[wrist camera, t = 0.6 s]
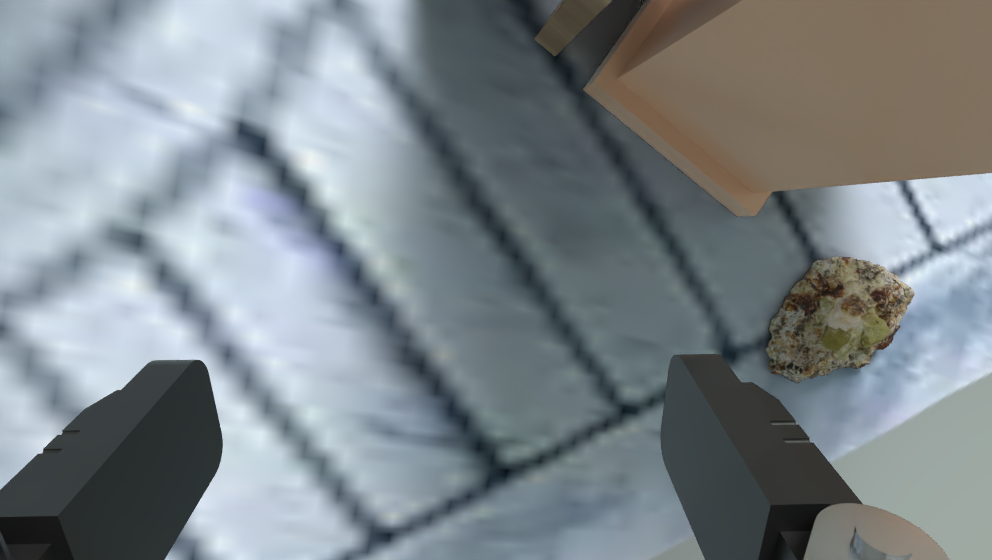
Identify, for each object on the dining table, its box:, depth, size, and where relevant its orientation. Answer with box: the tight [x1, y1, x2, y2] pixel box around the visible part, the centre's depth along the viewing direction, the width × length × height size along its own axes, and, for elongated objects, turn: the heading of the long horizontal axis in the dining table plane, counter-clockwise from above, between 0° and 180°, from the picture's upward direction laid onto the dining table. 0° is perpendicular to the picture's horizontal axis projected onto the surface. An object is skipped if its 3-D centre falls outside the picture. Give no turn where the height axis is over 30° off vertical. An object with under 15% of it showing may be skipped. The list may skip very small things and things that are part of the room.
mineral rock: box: [765, 256, 914, 383], centre depth 40 cm, size 11×4×8 cm
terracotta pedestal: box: [583, 0, 992, 217], centre depth 26 cm, size 13×13×24 cm
